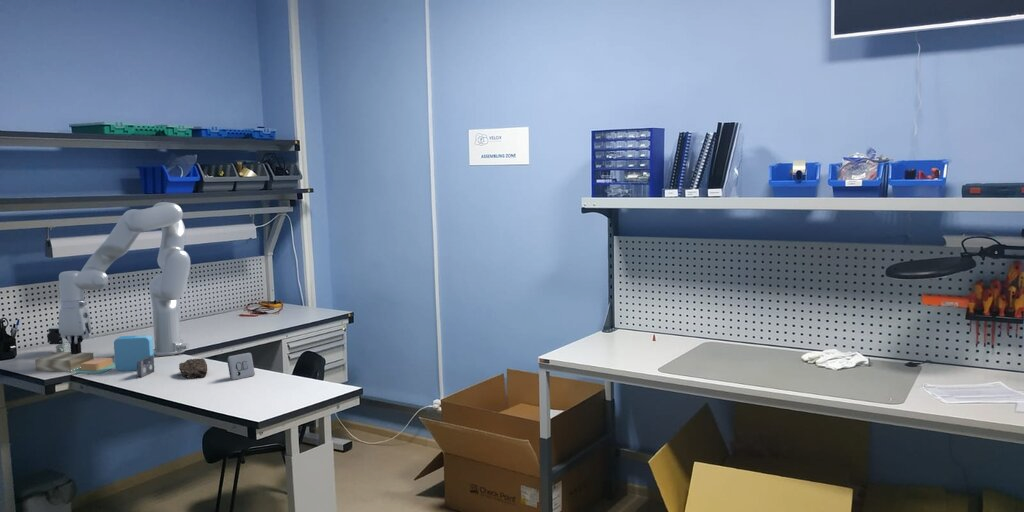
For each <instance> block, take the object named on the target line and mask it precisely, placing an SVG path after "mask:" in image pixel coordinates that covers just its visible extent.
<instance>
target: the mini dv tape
mask: <svg viewBox="0 0 1024 512" xmlns="http://www.w3.org/2000/svg"><path fill="white" fill-rule="evenodd" d="M153 373H155V356H154V357H153V356H148V357H146V358H144V359H142V360H139V361H137V370H136V377H137V379H142V378H145V377H147V376H149V375H150V374H153Z"/></svg>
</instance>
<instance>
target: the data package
mask: <svg viewBox="0 0 1024 512" xmlns="http://www.w3.org/2000/svg"><path fill="white" fill-rule="evenodd" d="M113 349H114V350H113V351H114V362H115V368H114V369H115V370H117V371H118V372H125V371H131V372H132V371H137V361H139V360H142V359H144V358H146V357H148V356H153V357H154V358H155V355H154V352H153V349H154V337H152V336H151V335H147V334H144V335H122V336H119V337H117V338H116V339H115V340H113Z"/></svg>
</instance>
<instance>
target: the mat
mask: <svg viewBox="0 0 1024 512" xmlns="http://www.w3.org/2000/svg"><path fill="white" fill-rule="evenodd" d="M112 362H113V364H112V365H110V366H107V367H104V368H102V369H99V370H96V371H94V370H81V368H78V369H75V370H72V371H69V373H70V372H76V373H75V374H77V373H78V374H102V373H105V372H108V371H110V370H113V369H116V368H115V361H112Z"/></svg>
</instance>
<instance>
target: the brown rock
mask: <svg viewBox="0 0 1024 512" xmlns="http://www.w3.org/2000/svg"><path fill="white" fill-rule="evenodd" d="M178 367H179V368H178V369H179V372H180V374H181V376H183V378H186V377H187V378H188V379H198V378H199V379H201V378H202V377H206V375H207V374H208V364H207V361H206V360H205V359H204V358H203V357H200V358H189V359H187V360H186V361H184V362H180V363H179V364H178Z"/></svg>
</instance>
